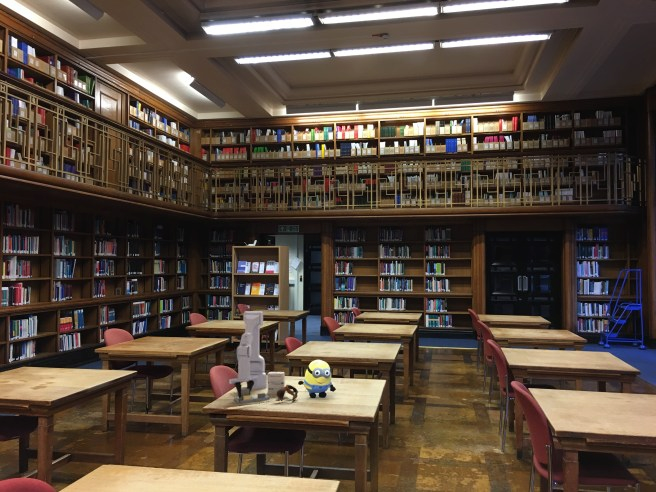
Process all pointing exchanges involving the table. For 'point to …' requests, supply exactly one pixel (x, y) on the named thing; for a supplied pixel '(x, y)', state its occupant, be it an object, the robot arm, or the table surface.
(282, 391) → the brown curved arch
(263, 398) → the socket panel
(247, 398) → the brass tag
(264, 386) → the robot arm
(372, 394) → the table surface
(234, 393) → the deck
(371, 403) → the table surface
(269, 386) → the ink box
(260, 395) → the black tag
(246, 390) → the plug
